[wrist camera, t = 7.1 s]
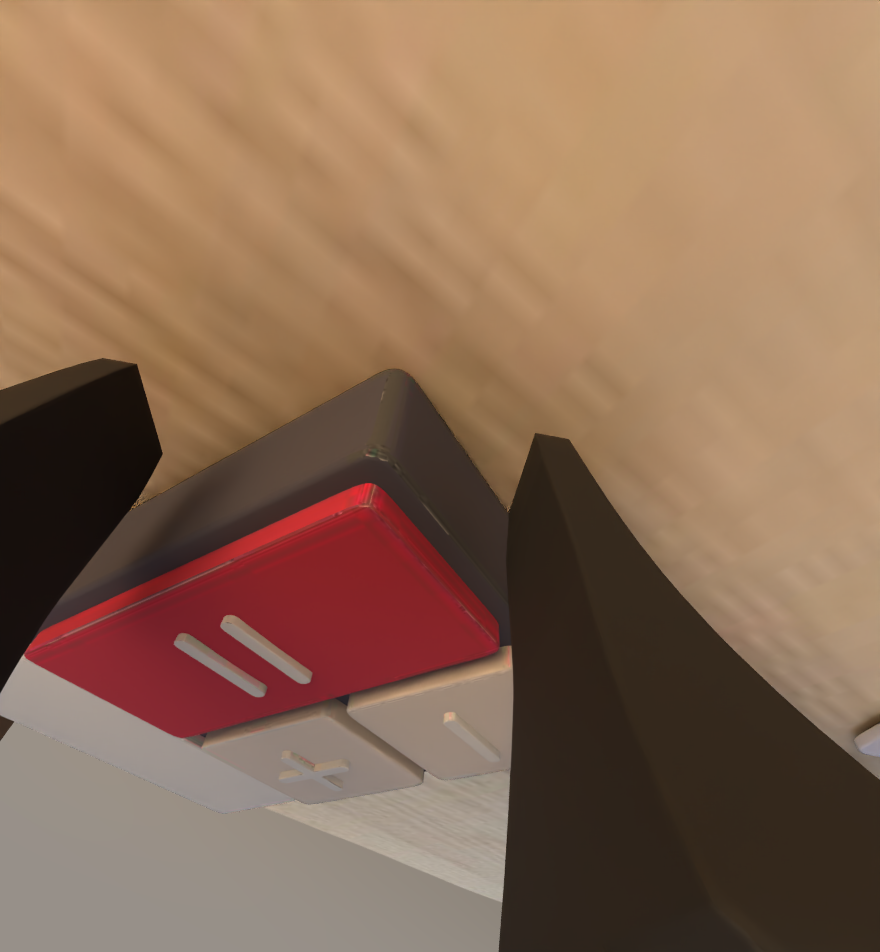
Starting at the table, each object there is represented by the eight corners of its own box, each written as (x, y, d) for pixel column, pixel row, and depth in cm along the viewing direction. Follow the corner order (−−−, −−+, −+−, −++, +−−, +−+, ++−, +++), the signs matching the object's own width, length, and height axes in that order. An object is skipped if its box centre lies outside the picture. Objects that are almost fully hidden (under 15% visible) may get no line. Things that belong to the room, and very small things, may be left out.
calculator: (626, 768, 13) (218, 834, 18) (595, 623, 16) (257, 716, 22) (372, 473, 7) (-110, 698, 13) (405, 344, 10) (13, 565, 16)
